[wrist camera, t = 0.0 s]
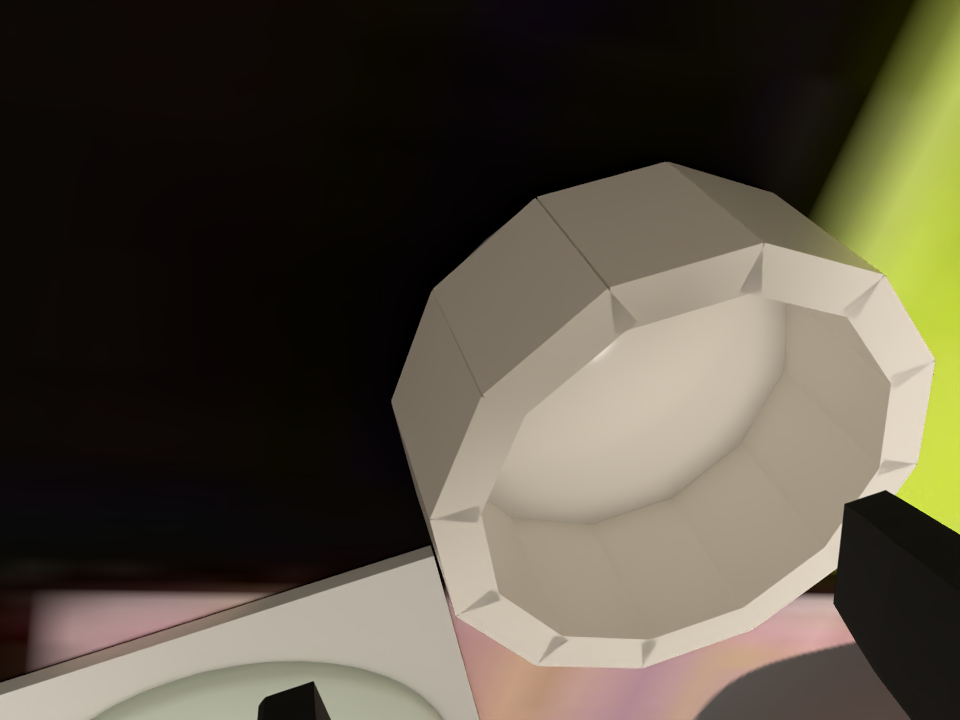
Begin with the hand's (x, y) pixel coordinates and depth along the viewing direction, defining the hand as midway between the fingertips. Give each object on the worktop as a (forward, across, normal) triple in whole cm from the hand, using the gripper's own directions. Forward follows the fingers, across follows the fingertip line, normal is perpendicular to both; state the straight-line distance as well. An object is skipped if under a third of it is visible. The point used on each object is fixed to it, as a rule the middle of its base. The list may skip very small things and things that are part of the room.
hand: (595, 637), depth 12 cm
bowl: (+10, -4, +4) cm, 12 cm away
